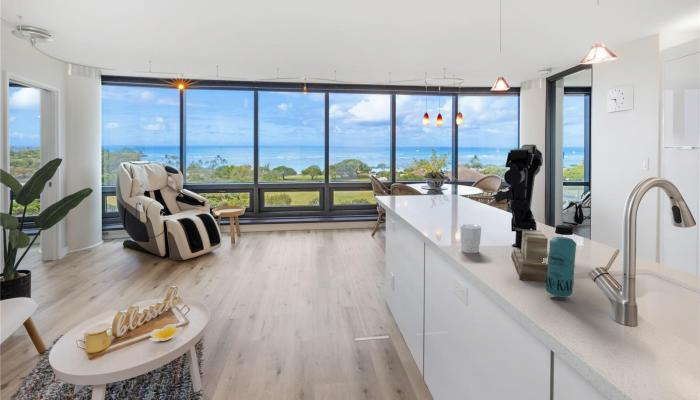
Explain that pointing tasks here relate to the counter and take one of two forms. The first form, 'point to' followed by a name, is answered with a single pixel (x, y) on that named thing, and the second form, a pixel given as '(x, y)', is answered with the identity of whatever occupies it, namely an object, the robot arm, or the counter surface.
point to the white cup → (470, 238)
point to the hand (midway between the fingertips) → (515, 224)
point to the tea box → (533, 246)
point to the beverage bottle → (561, 263)
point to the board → (528, 276)
